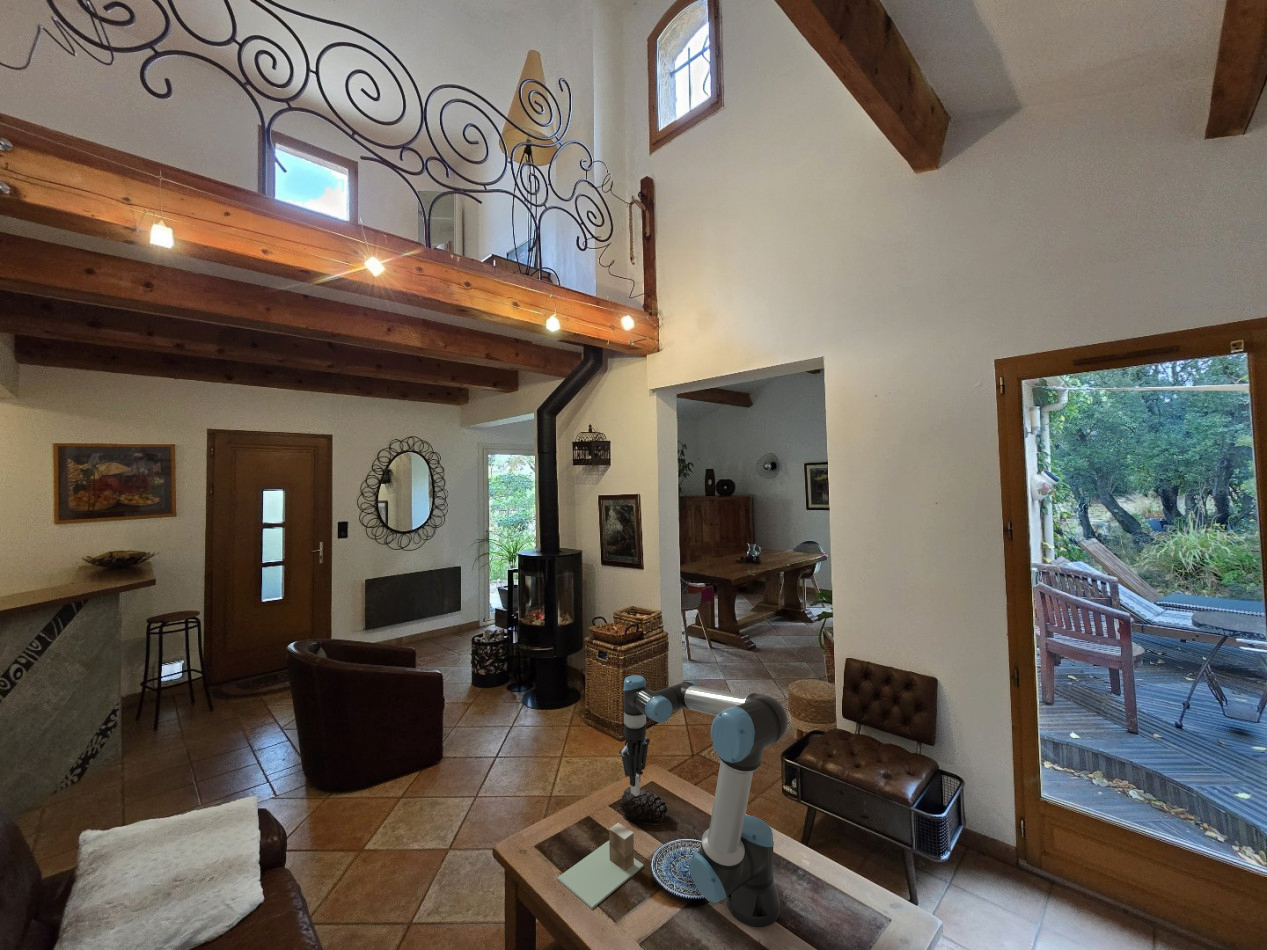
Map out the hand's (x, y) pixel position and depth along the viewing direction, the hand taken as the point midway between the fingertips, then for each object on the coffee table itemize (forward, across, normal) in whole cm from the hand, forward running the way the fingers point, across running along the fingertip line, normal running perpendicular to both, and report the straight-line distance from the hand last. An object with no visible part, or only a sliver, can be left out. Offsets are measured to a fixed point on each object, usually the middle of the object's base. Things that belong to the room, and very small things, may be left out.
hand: (635, 793), depth 170 cm
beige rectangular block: (+17, +9, +2) cm, 19 cm away
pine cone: (+18, -13, -8) cm, 23 cm away
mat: (+17, +16, 0) cm, 24 cm away
